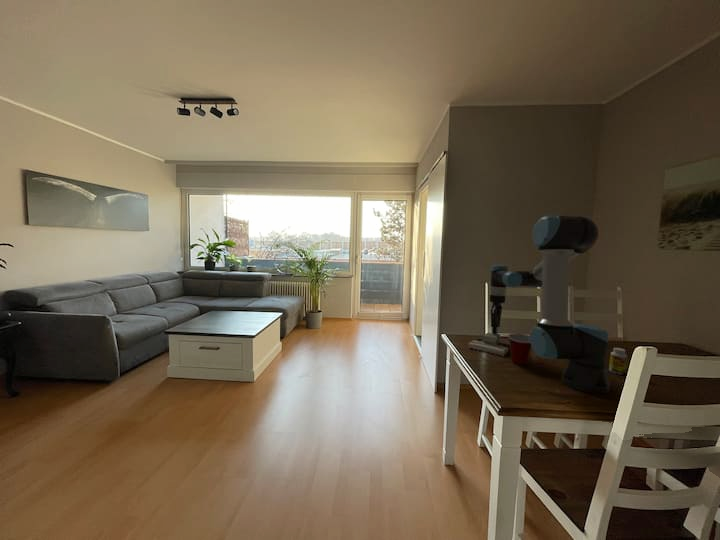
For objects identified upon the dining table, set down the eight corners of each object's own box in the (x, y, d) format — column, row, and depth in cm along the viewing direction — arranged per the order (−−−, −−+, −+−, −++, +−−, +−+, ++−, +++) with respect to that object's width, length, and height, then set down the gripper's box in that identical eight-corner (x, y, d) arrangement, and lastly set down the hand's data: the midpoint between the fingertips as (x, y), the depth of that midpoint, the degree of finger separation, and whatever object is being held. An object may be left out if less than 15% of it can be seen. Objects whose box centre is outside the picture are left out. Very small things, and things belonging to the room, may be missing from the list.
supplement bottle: (610, 372, 138) (612, 349, 137) (607, 368, 142) (610, 346, 142) (626, 375, 135) (629, 352, 134) (623, 371, 140) (626, 348, 139)
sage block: (495, 345, 162) (496, 337, 162) (483, 342, 166) (484, 335, 165) (499, 342, 168) (500, 334, 167) (487, 339, 171) (488, 332, 171)
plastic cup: (508, 365, 142) (510, 338, 141) (503, 357, 153) (505, 332, 152) (535, 368, 140) (537, 341, 138) (528, 359, 150) (530, 334, 149)
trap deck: (503, 356, 154) (504, 351, 154) (468, 348, 164) (468, 343, 164) (513, 346, 170) (514, 341, 169) (481, 339, 180) (481, 335, 180)
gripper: (493, 292, 175) (490, 334, 177) (486, 295, 165) (483, 340, 167) (508, 294, 170) (505, 337, 173) (501, 297, 160) (498, 343, 162)
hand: (494, 338), depth 170 cm, fingers closed
